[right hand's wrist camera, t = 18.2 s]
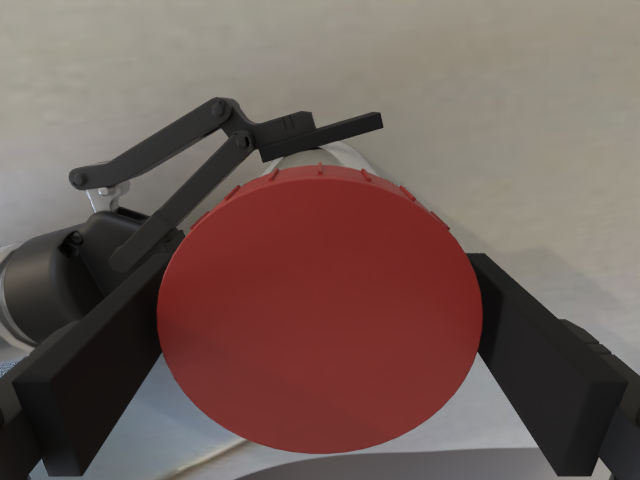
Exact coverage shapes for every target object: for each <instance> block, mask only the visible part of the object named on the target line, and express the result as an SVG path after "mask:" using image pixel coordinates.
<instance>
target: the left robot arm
mask: <svg viewBox="0 0 640 480" xmlns="http://www.w3.org/2000/svg"><path fill="white" fill-rule="evenodd" d="M221 128H222V130H223V131H224V132H225V133H226V135H227V136H228V137H229V139H228V140H227V141H226V142H225V143H224V144H223V145H222V146H221V147H220V148H219V149H218V150H217V151H216V152H215V153H214V154H213V155H212V156H211V157H210V158H209V159H208V160H207V161H206V162H205V163H204V164H203V165H202V166H201V167H200V168H199V169H198V170H197V171H196V172H195V173H194V174H193V175H192V177H191V178H190V179H189V180H188V181H187V182H186V183H185V184H184V185H183V186H182V187H181V188H180V189H179V190H178V191H177V192H176V193H175V194H174V195H173V196H172V197H171V198H170V199H169V200H168V201H167V202H166V203H165V204H164V205H163V206H162V207H161V208H160V209H159V210H158V211H157V212H155V213H154V214H153V215H152V216H148V215H144V214H141V213H138V212H135V211H132V210H129V209H126V208H123V207H120V206H119V205H118V200H119V198H120V197H121V196H122V195H124V194H126V193H127V192H128V191H129V186H130V181H129V180H130V179H132V178H135V177H137V176H140V175H142V174H144V173H146V172H148V171H150V170H152V169H153V168H155V167H157V166H158V165H160V164H162V163H163V162H165V161H167V160H168V159H170V158H172V157H173V156H175V155H177V154H179V153H180V152H182V151H184V150H185V149H187V148H189V147H190V146H192V145H194V144H195V143H197V142H199V141H200V140H202V139H204V138H206V137H207V136H209V135H211V134H212V133H214V132H216V131H217V130H219V129H221ZM381 128H383V123H382V118H381V114H380V113H379V112H371V113H368V114H364V115H361V116H357V117H354V118H351V119H347V120H344V121H341V122H337V123H334V124H331V125H327V126H324V127H320V128H317V129H316V126H315V123H314V119H313V115H312V112H306V111H300V112H297V113H294V114H290V115H287V116H284V117H280V118H277V119H274V120H270V121H267V122H264V123H260V124H259V123H254V122H252V121H250V120H249V119H248V118H247V117H246V115H245V114H244V113H243V111H242V110H241V109H240V106H239V104H238V103H237V101H235V100H233V99H229V98H218V97H216V98H213V99H211V100H209V101H208V102H206V103H204V104H203V105H201V106H199V107H198V108H196V109H195V110H193V111H191V112H190V113H188V114H186V115H185V116H183V117H181V118H180V119H178V120H177V121H175V122H173V123H172V124H170V125H168V126H167V127H165V128H164V129H162V130H160V131H159V132H157V133H155V134H154V135H152V136H151V137H149V138H147V139H146V140H144V141H142V142H141V143H139V144H137V145H136V146H134V147H133V148H131V149H129V150H128V151H126V152H124V153H123V154H121V155H120V156H118V157H116V158H115V159H113V160H111V161H105V162H100V163H96V164H92V165H88V166H84V167H80V168H76V169H73V170H72V171H71V172H70V173H69V181H70V183H71V184H72V186H74V187H75V188H76V189H79V190H86V192H87V195H88V197H89V200H90V203H91V205H92V208H93V210H94V214H93V215H92V216H91V217H90V218H89V219H88V221H87V222H86V223H83V224H79V225H76V226H72V227H69V228H65V229H62V230H59V231H55V232H52V233H48V234H45V235H41V236H38V237H35V238H32V239H30V240H28V241H20V242H17V243H14V244H10V245H7V246H3V247H0V366H3V365H7V364H11V363H15V362H19V361H21V360H22V359H23V358H24V357H26V356H29V353H30V352H31V351H33V350H34V349H35V348H36V347H37V346H41V343H42V342H43V341H44V340H46V339H47V338H48V337H49V336H50V335H52V334H53V333H54V332H55V331H57V330H58V329H60V328H62V327H64V326H66V325H68V324H69V323H71V322H73V321H80V320H81V319H82V318H84V317H85V316H86V315H87V314H88V313H89V312H90V311H91V310H93V309H94V308H95V307H96V306H97V305H98V304H99V303H100V302H102V301H103V300H104V299H105V298H106V297H107V296H108V295H109V294H111V293H112V292H113V291H114V290H115V289H116V288H117V287H118V286H120V285H121V284H122V283H123V282H124V281H125V280H126V279H127V278H129V277H130V276H131V275H132V274H133V273H134V272H135V271H136V270H138V269H139V268H140V267H141V266H142V265H143V264H144V263H145V262H147V261H148V260H149V259H150V258H151V257H152V256H153V255H154V254H155V253H175V251H176V250H177V248H178V247H179V245H180V244H181V243H182V241H183V240H184V238H185V235H184V232H183V230H180V231H179V230H178V229H177V228H176V227H177V226H178V225H179V224H180V223H181V222H182V221H183V220H184V219H185V218H186V217H187V216H188V215H189V214H190V213H191V212H192V211H193V210H194V209H195V208H196V207H197V206H198V205H199V204H200V203H201V202H202V201H203V200H204V199H205V198H206V197H207V196H208V195H209V194H210V193H211V192H212V191H213V190H214V189H215V188H216V187H217V186H218V185H219V184H220V183H221V182H222V181H223V180H224V179H225V178H226V177H227V176H228V175H229V174H230V173H231V172H232V171H233V170H234V169H235V168H237V167H238V166H239V165H240V164H241V163H242V162H243V161H244V160H245V159H246V158H247V157H248V156H249V155H250V154H251V153H252V152H253V151H254V150H256V149H259V152H260V155H261V158H262V161H263V163H264V162H268V161H271V160H275V159H278V158H281V157H285V156H288V155H292V154H295V153H298V152H302V151H305V150H309V149H312V148H316V147H319V146H322V145H326V144H329V143H333V142H336V141H340V140H343V139H346V138H350V137H353V136H357V135H360V134H364V133H367V132H370V131H374V130H377V129H381Z"/></svg>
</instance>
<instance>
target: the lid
mask: <svg viewBox="0 0 640 480" xmlns="http://www.w3.org/2000/svg"><path fill="white" fill-rule="evenodd" d="M190 229H191V230H192V231H191V232H190V233H189V234H188V235H187V236H186V237H185V238H184V240H183V241H182V243H181V244H180V245H179V247H178V248H177V250H176V251H175V253H174V254H173V256H172V258H171V260H170V262H169V264H168V267H167V269H166V271H165V273H164V276H163V280H162V283H161V287H160V290H159V296H158V304H157V330H158V335H159V340H160V346H161V349H162V352H163V355H164V358H165V360H166V363H167V365H168V367H169V369H170V371H171V373H172V375H173V377H174V379H175V380H176V382H177V383H178V385H179V386H180V387H181V389H182V390H183V392H184V393H185V394H186V395H187V396H188V398H189V399H190V400H191V401H192V402H193V403H194V404H195V405H196V406H197V407H198V408H199V409H200V410H201V411H202V412H204V413H205V414H206V415H207V416H208V417H209V418H211V419H212V420H214V421H215V422H216V423H218V424H219V425H221V426H222V427H224V428H225V429H227V430H229V431H231V432H233V433H235V434H237V435H238V436H240V437H243V438H245V439H248V440H250V441H252V442H255V443H257V444H261V445H264V446H268V447H271V448H274V449H279V450H285V451H290V452H297V453H308V454H332V453H343V452H350V451H355V450H360V449H365V448H369V447H372V446H375V445H379V444H382V443H385V442H387V441H390V440H392V439H395V438H397V437H399V436H401V435H403V434H405V433H407V432H409V431H411V430H412V429H414V428H416V427H417V426H419V425H420V424H422V423H423V422H425V421H426V420H428V419H429V418H430V417H431V416H433V415H434V414H435V413H436V412H437V411H438V410H440V409H441V408H442V407H443V406H444V405H445V404H446V403H447V402H448V400H449V399H450V398H451V397H452V396H453V395H454V394H455V392H456V391H457V390H458V388H459V387H460V385H461V384H462V383H463V381H464V380H465V378H466V376H467V374H468V372H469V370H470V368H471V367H472V365H473V362H474V359H475V356H476V354H477V351H478V348H479V343H480V338H481V333H482V321H483V308H482V299H481V292H480V288H479V285H478V281H477V278H476V274H475V272H474V270H473V268H472V265H471V263H470V261H469V259H468V257H467V255H466V254H465V252H464V251H463V249H462V248H461V246H460V245H459V243H458V242H457V240H456V239H455V238H454V237H453V235H452V234H451V233H450V232H449V231H448V230H449V229H450V228H449V227H448V226H447V225H446V224H445V223H444V222H443V221H442V220H441V219H440V218H439V217H437V216H436V215H435V214H434V213H433V212H432V211H431V212H429V211H428V210H427V209H426V208H425V207H424V206H423V205H422V204H421V203H420V202H418V201H417V200H416V198H415V197H414V196H413V195H412V194H411V193H410V192H409V191H408V190H406V189H405V188H404V187H403V186H402V185H401V186H400V187H398V186H396V185H395V184H393V183H391V182H390V181H387V180H385V179H383V178H380V177H378V176H376V175H373V174H371V173H368V172H367V171H366V170H365V169H363V168H362V169H361V171H360V170H357V169H353V168H348V167H341V166H333V165H322V162H319V163H318V165H307V166H299V167H291V168H287V169H283V170H279V169H278V168H276V169H275V170H274V171H273V172H272V173H269V174H266V175H264V176H262V177H259V178H257V179H254V180H252V181H250V182H249V183H247V184H245V185H243V186H242V187H240V186H239V185H238V186H236V187H235V188H234V189H233V190H232V191H231V192H230V193H229V194H228V195H227V196H226V197H225V198H224V200H222V201H221V202H220V203H219V204H218V205H217V206H216V207H215V208H214V209H213V210H212V211H211V212H209V211H207V212H206V213H205V214H204V215H203V216H202V217H201V218H200V219H199V220H198V221H197V222H196V223H195V224H193V225H192V226H191V228H190Z"/></svg>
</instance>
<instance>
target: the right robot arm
mask: <svg viewBox="0 0 640 480" xmlns="http://www.w3.org/2000/svg"><path fill="white" fill-rule="evenodd" d="M173 254H174V253H155V254H154V255H153V256H152V257H151V258H150V259H149V260H148V261H147V262H145V263H144V264H143V265H142V266H141V267H140V268H139V269H138V270H136V271H135V272H134V273H133V274H132V275H131V276H130V277H129V278H127V279H126V280H125V281H124V282H123V283H122V284H121V285H120V286H118V287H117V288H116V289H115V290H114V291H113V292H112V293H111V294H109V295H108V296H107V297H106V298H105V299H104V300H103V301H102V302H100V303H99V304H98V305H97V306H96V307H95V308H94V309H93V310H91V311H90V312H89V313H88V314H87V315H86V316H85V317H84V318H82V319H81V320H80V321H73V322H71V323H69V324H68V325H66V326H64V327H62V328H60V329H58V330H57V331H55V332H54V333H53V334H52V335H50V336H49V337H48V338H47V339H46V340H44V341H43V342H42V343H41V346H37V347H36V348H35V349H34V350H33V351H31V352H30V353H29V356H26V357H24V358H23V359H22V360H21V361H20V362H18V363H17V364H16V365H15V366H14V367H13V368H11V369H10V370H9V371H8V372H7V373H5V374H4V375H3V376H2V377H1V378H0V480H31V478H30V476H29V473H30V472H31V471H32V470H33V468H34V467H35V466H36V465H37V463H38V462H39V461H40V460H41V458H42V460H43V463H44V465H45V468H46V470H47V473H48V475H49V476H83V474H84V473H85V471H86V470H87V468H88V467H89V465H90V463H91V462H92V460H93V459H94V457H95V456H96V454H97V453H98V451H99V449H100V448H101V446H102V445H103V443H104V442H105V440H106V439H107V437H108V435H109V434H110V432H111V431H112V429H113V428H114V426H115V425H116V423H117V421H118V420H119V418H120V417H121V415H122V414H123V412H124V411H125V409H126V408H127V406H128V404H129V403H130V401H131V400H132V398H133V397H134V395H135V394H136V392H137V390H138V389H139V387H140V386H141V384H142V383H143V381H144V380H145V378H146V376H147V375H148V373H149V372H150V370H151V369H152V367H153V366H154V364H155V362H156V361H157V359H158V358H159V356H160V355H161V353H162V349H161V346H160V340H159V335H158V330H157V304H158V296H159V290H160V287H161V283H162V280H163V276H164V273H165V271H166V269H167V267H168V264H169V262H170V260H171V258H172V256H173ZM465 254H466V255H467V257H468V259H469V261H470V263H471V265H472V268H473V270H474V272H475V274H476V278H477V281H478V285H479V288H480V292H481V299H482V308H483V321H482V333H481V338H480V343H479V348H478V351H477V352H478V353H479V355H480V356H481V358H482V359H483V361H484V362H485V364H486V366H487V367H488V369H489V370H490V372H491V373H492V375H493V376H494V378H495V380H496V381H497V383H498V384H499V386H500V387H501V389H502V390H503V392H504V394H505V395H506V397H507V398H508V400H509V401H510V403H511V404H512V406H513V408H514V409H515V411H516V412H517V414H518V415H519V417H520V418H521V420H522V421H523V423H524V425H525V426H526V428H527V429H528V431H529V432H530V434H531V435H532V437H533V439H534V440H535V442H536V443H537V445H538V446H539V448H540V449H541V451H542V453H543V454H544V456H545V457H546V459H547V460H548V462H549V463H550V465H551V467H552V468H553V470H554V471H555V473H556V474H557V476H591V475H592V473H593V470H594V468H595V465H596V463H597V460H598V458H600V459H601V460H602V461H603V463H604V464H605V465H606V466H607V468H608V469H609V470H610V471H611V476H610V478H609V480H640V376H639V375H638V374H637V373H636V372H634V371H633V370H632V369H631V368H630V367H628V366H627V365H626V364H625V363H624V362H622V361H621V360H620V359H619V358H618V357H617V356H615V355H612V354H611V351H609V350H608V349H607V348H606V347H605V346H603V345H602V344H599V341H597V340H596V339H595V338H594V337H593V336H592V335H590V334H589V333H588V332H587V331H586V330H584V329H582V328H581V327H579V326H577V325H575V324H573V323H571V322H569V321H568V320H566V319H558V318H556V317H555V316H554V315H553V314H552V313H551V312H550V311H549V310H547V309H546V308H545V307H544V306H543V305H542V304H541V303H540V302H538V301H537V300H536V299H535V298H534V297H533V296H532V295H531V294H529V293H528V292H527V291H526V290H525V289H524V288H523V287H522V286H520V285H519V284H518V283H517V282H516V281H515V280H514V279H513V278H511V277H510V276H509V275H508V274H507V273H506V272H505V271H504V270H502V269H501V268H500V267H499V266H498V265H497V264H496V263H495V262H493V261H492V260H491V259H490V258H489V257H488V256H487V255H486V254H485V253H465Z"/></svg>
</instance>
